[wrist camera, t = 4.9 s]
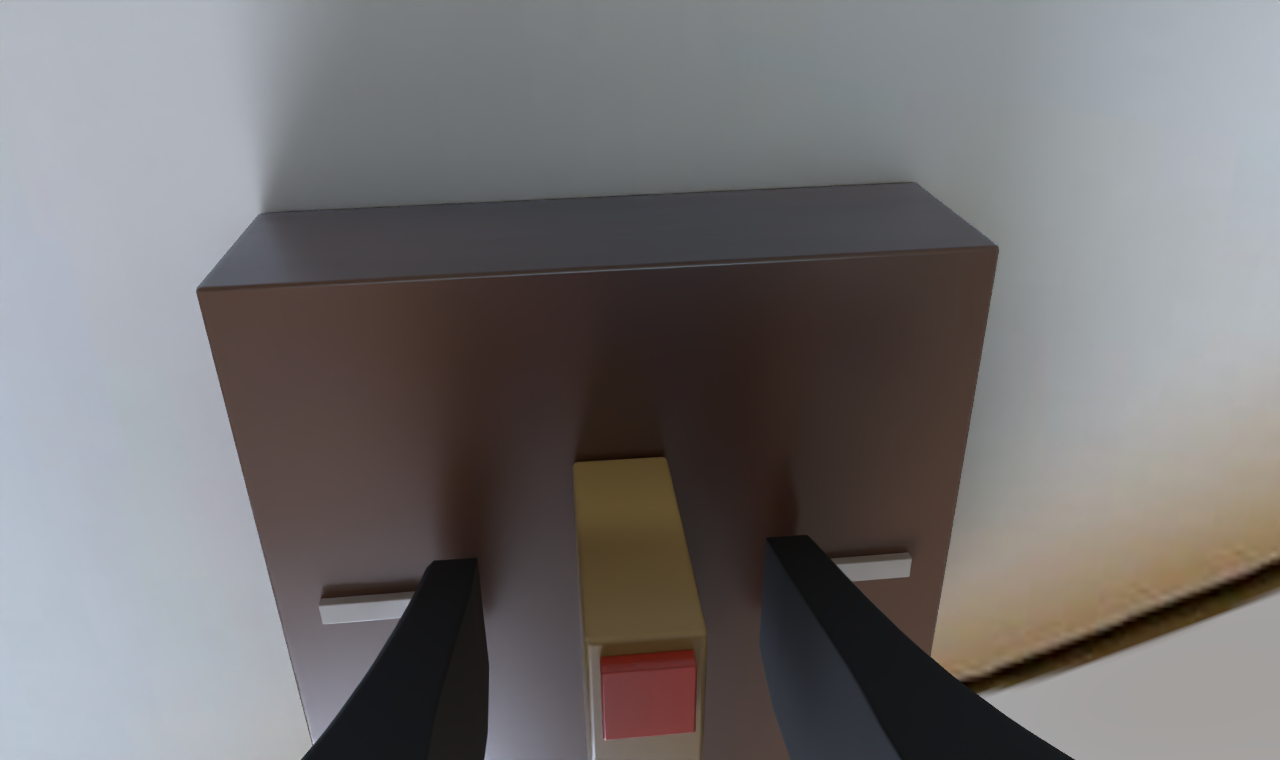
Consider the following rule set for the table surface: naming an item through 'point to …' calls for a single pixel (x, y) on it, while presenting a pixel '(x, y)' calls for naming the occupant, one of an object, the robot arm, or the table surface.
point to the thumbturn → (638, 614)
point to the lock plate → (596, 417)
